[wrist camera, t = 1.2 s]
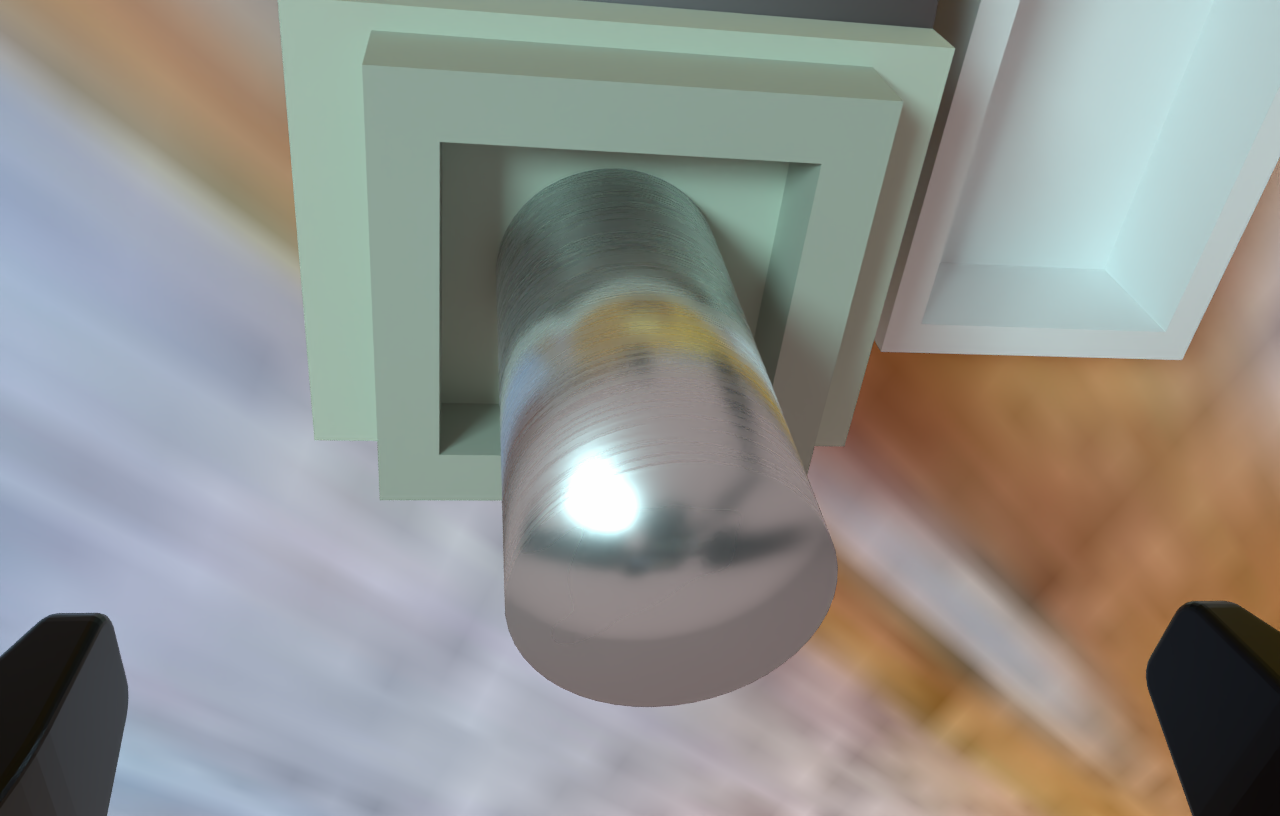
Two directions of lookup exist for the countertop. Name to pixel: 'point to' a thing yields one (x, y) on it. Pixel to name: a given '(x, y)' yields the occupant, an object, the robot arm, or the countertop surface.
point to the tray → (1085, 176)
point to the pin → (644, 455)
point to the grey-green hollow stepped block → (577, 142)
